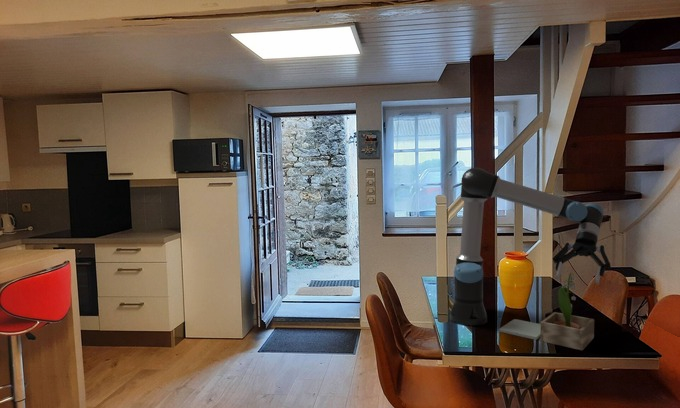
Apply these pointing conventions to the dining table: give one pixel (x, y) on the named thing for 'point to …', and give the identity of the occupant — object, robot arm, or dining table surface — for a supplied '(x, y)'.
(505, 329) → the pad
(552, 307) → the dining table surface
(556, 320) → the open wooden box
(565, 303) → the potted flower
